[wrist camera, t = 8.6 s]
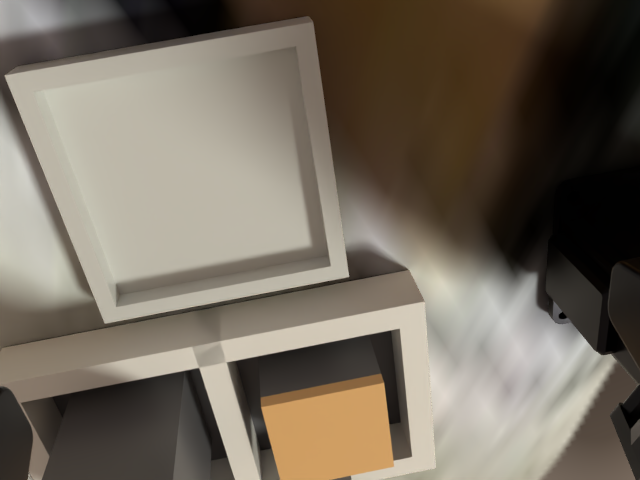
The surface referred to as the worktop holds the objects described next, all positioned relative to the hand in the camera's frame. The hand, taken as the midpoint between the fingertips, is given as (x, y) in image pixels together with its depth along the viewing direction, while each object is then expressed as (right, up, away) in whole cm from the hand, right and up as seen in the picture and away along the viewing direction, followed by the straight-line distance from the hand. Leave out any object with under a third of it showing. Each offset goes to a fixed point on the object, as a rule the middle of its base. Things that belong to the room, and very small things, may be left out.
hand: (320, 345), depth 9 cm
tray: (-4, +4, +12) cm, 13 cm away
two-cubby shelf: (-4, -5, +17) cm, 18 cm away
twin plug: (+1, -8, +19) cm, 20 cm away
